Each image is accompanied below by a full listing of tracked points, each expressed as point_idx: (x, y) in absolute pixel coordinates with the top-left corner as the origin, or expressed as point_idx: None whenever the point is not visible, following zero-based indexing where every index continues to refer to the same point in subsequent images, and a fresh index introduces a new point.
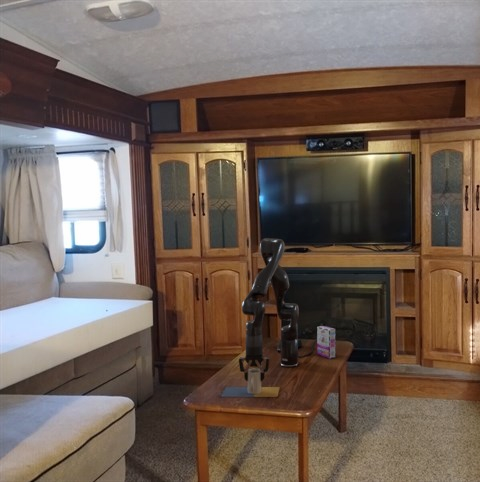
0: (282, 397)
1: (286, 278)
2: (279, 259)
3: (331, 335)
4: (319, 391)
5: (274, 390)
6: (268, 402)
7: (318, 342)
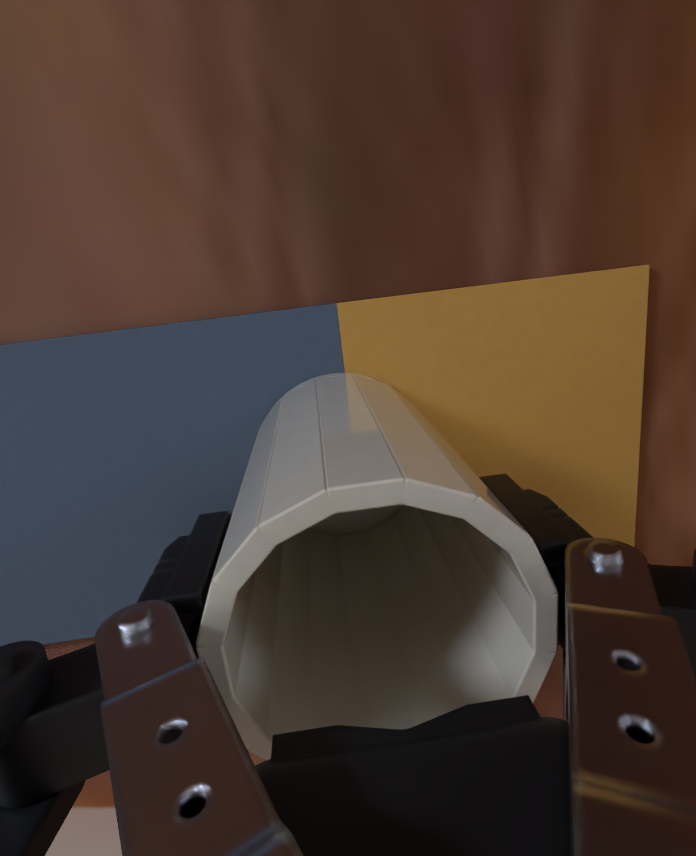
0: (684, 551)
1: None
2: None
3: None
4: None
5: (587, 390)
6: (552, 678)
7: None
